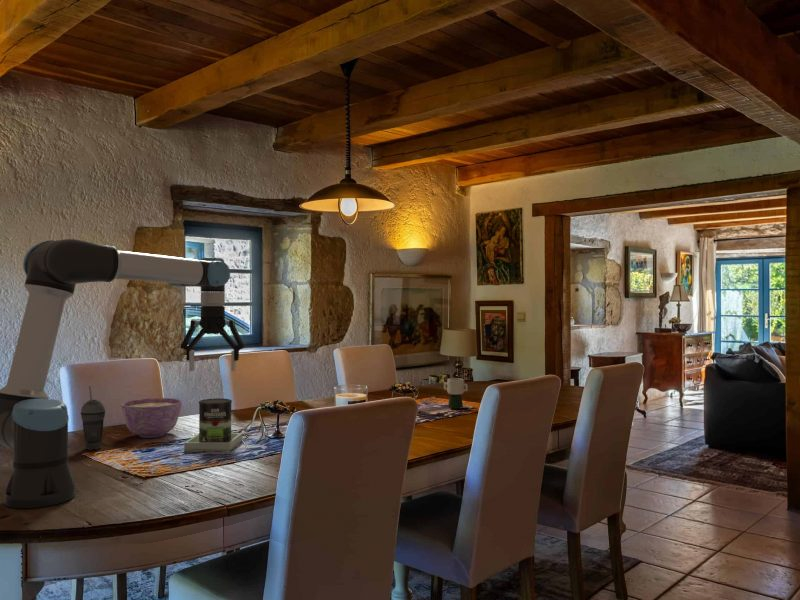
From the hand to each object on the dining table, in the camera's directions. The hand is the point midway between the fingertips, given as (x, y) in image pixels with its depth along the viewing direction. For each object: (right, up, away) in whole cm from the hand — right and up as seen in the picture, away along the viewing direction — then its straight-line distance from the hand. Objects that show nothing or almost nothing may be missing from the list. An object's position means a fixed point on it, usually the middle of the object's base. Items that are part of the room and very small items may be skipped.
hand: (212, 370), depth 212 cm
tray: (0, -25, +1) cm, 25 cm away
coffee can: (+1, -24, +1) cm, 24 cm away
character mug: (+85, -24, +71) cm, 113 cm away
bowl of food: (-26, -25, +18) cm, 40 cm away
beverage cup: (-38, -25, -2) cm, 45 cm away
